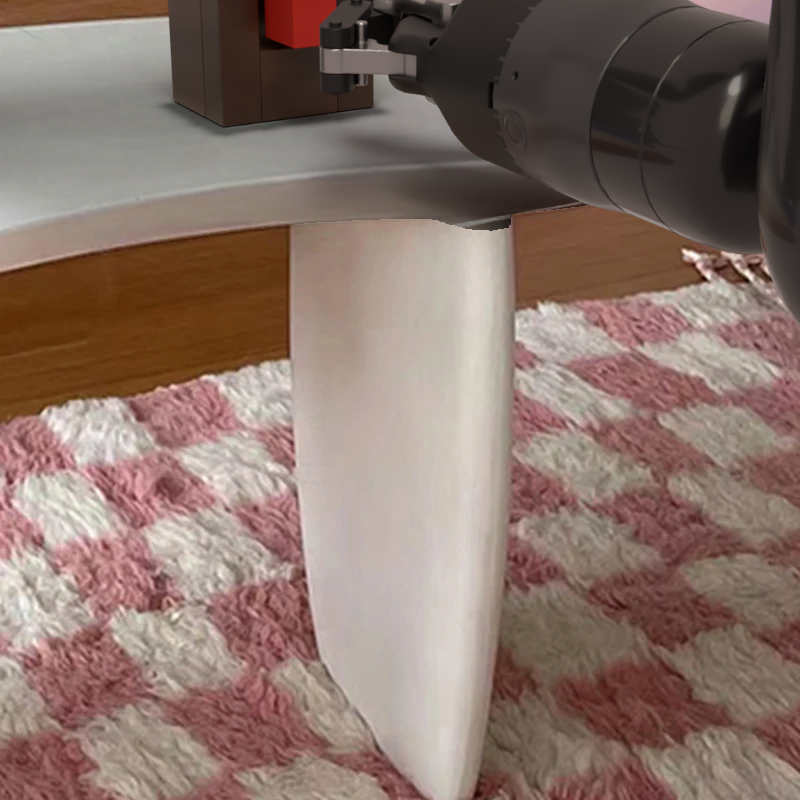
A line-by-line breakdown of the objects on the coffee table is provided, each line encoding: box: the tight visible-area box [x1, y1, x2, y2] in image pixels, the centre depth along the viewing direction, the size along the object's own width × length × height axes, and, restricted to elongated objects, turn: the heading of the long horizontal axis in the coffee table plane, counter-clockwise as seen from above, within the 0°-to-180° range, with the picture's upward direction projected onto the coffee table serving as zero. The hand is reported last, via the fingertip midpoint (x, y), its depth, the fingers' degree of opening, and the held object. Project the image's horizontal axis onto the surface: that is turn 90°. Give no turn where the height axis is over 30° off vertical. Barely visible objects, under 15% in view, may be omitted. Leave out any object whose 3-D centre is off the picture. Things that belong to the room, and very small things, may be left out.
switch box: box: [167, 0, 375, 127], centre depth 77 cm, size 8×6×9 cm
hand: (354, 7), depth 70 cm, fingers closed
